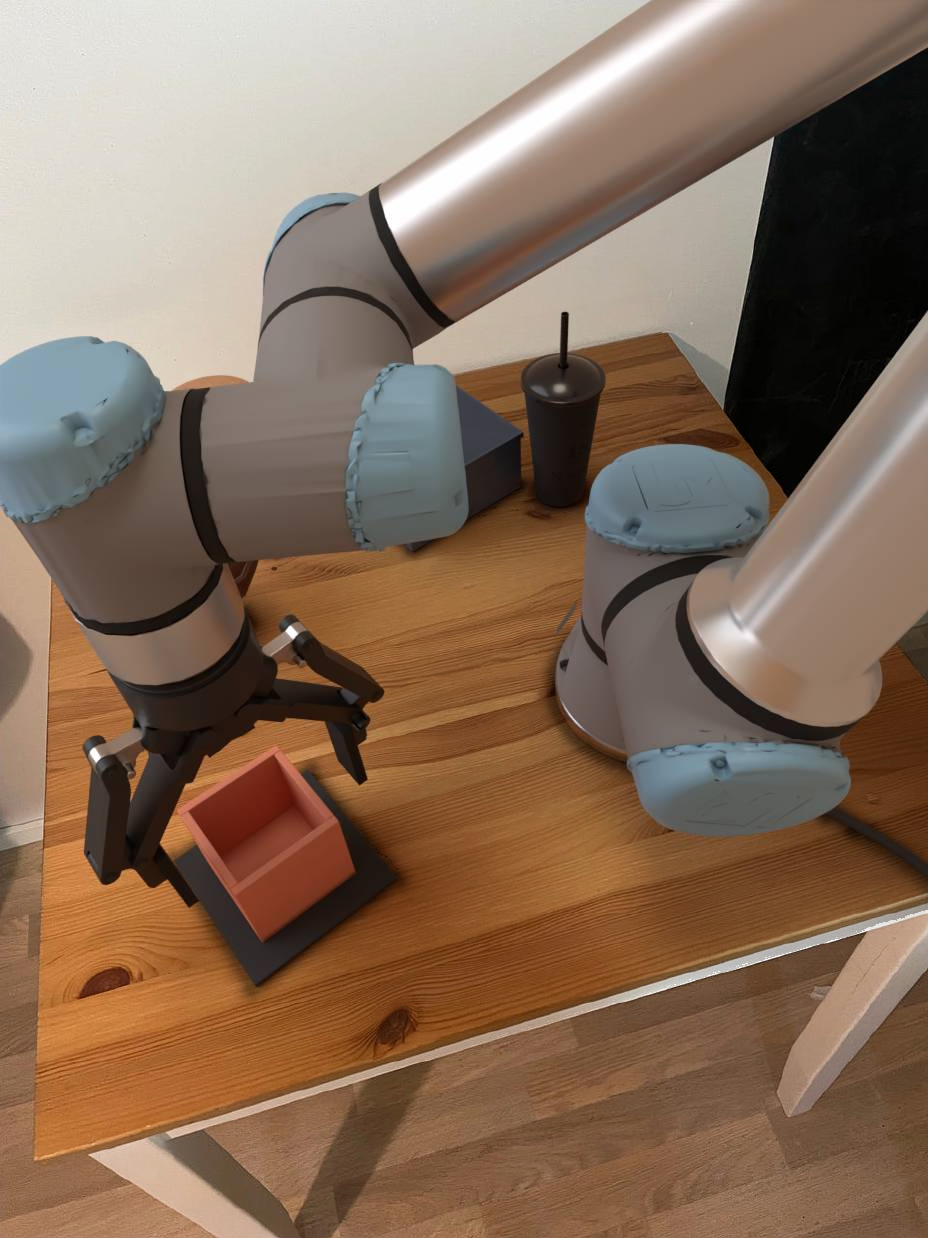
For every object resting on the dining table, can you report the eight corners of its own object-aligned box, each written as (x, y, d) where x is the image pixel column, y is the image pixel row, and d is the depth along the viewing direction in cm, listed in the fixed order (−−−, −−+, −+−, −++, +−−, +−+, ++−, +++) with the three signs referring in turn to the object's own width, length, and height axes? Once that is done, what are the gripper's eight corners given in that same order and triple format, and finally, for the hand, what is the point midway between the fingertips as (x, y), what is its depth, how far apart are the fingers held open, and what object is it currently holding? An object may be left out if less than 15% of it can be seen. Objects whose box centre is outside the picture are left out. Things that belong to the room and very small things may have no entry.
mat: (397, 879, 68) (396, 877, 67) (256, 987, 63) (254, 985, 63) (308, 771, 74) (307, 769, 74) (175, 862, 69) (173, 860, 69)
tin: (524, 486, 94) (523, 431, 89) (412, 554, 89) (404, 500, 84) (437, 422, 102) (432, 368, 97) (329, 481, 97) (318, 427, 91)
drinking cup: (505, 491, 94) (501, 314, 78) (558, 456, 97) (563, 279, 82) (560, 528, 90) (566, 350, 75) (613, 490, 93) (629, 311, 78)
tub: (356, 873, 68) (339, 821, 61) (262, 943, 65) (234, 895, 58) (298, 799, 72) (276, 744, 66) (207, 862, 69) (176, 810, 63)
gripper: (334, 482, 54) (386, 694, 70) (-90, 723, 45) (82, 902, 61) (411, 550, 50) (447, 758, 66) (-38, 829, 41) (131, 991, 57)
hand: (272, 827), depth 63 cm, fingers open, 13 cm apart
